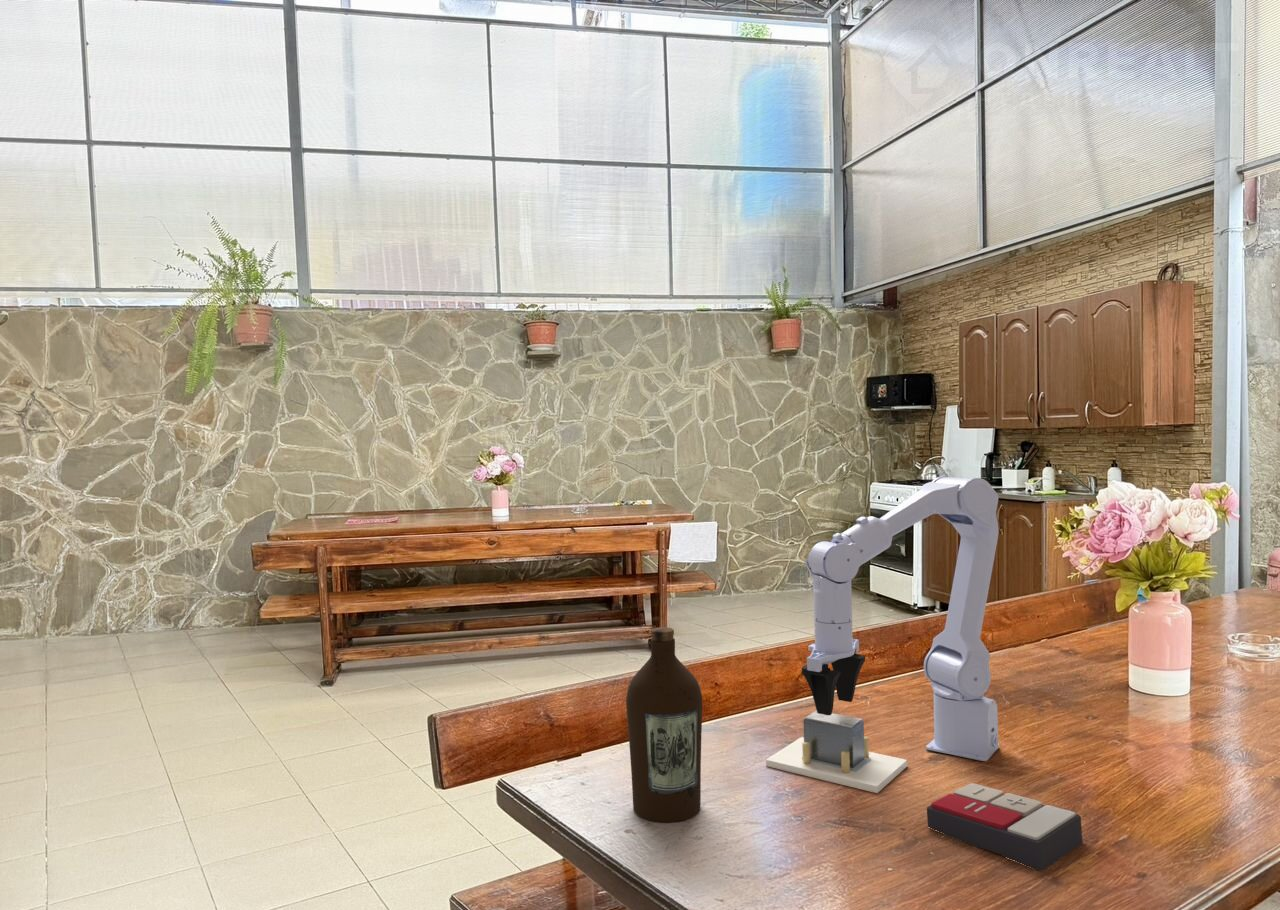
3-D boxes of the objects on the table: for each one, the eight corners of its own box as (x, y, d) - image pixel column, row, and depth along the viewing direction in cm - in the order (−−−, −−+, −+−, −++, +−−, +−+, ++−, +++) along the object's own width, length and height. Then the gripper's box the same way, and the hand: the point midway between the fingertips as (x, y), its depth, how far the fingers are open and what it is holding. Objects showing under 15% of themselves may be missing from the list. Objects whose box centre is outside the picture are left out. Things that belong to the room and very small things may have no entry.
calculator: (970, 779, 116) (1081, 809, 104) (972, 810, 116) (1084, 843, 104) (924, 801, 109) (1038, 836, 98) (926, 834, 109) (1041, 873, 98)
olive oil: (621, 797, 121) (617, 624, 121) (692, 788, 123) (688, 619, 123) (638, 829, 111) (633, 641, 110) (715, 819, 113) (710, 634, 113)
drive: (864, 758, 130) (863, 718, 130) (853, 768, 126) (852, 727, 126) (816, 748, 135) (815, 709, 135) (804, 757, 131) (803, 717, 131)
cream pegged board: (907, 766, 130) (906, 740, 129) (877, 793, 120) (876, 765, 120) (801, 742, 141) (800, 719, 140) (766, 765, 131) (765, 740, 131)
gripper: (829, 609, 138) (831, 691, 138) (787, 625, 127) (790, 715, 127) (870, 613, 134) (872, 698, 134) (831, 631, 122) (833, 723, 123)
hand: (835, 707), depth 130 cm, fingers open, 7 cm apart
